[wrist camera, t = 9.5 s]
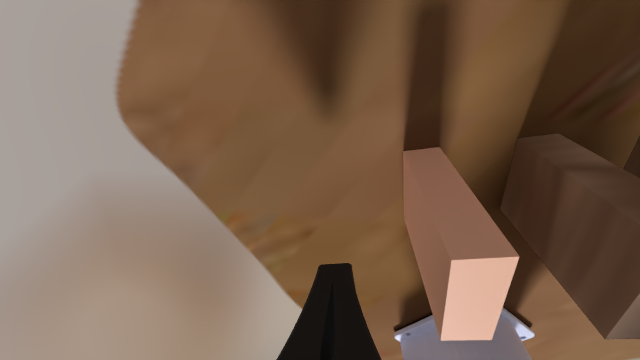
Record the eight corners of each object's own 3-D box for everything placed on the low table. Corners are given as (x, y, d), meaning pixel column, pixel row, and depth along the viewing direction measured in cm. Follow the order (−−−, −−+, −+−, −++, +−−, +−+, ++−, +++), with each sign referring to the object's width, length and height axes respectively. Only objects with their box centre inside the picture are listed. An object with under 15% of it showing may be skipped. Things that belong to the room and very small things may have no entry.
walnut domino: (500, 209, 17) (604, 339, 10) (517, 138, 14) (673, 248, 8) (534, 206, 17) (665, 338, 10) (558, 133, 14) (759, 244, 7)
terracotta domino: (403, 216, 18) (440, 340, 11) (403, 151, 15) (451, 260, 8) (434, 214, 17) (491, 340, 11) (439, 147, 15) (519, 256, 8)
